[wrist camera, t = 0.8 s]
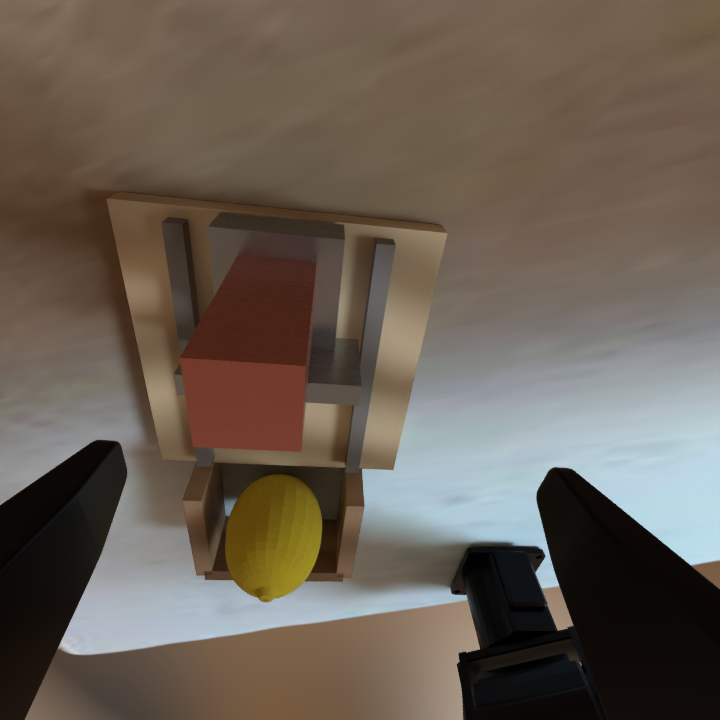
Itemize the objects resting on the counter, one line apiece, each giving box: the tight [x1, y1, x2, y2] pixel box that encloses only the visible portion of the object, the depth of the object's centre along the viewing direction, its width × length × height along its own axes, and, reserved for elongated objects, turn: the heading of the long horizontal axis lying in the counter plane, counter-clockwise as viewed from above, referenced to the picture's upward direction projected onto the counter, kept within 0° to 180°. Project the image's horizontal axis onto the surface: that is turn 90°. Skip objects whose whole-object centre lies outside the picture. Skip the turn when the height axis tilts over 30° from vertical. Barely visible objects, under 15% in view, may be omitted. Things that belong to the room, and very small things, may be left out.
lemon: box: [225, 474, 322, 602], centre depth 25 cm, size 6×6×8 cm
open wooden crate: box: [183, 462, 364, 581], centre depth 27 cm, size 8×10×4 cm
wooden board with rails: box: [106, 192, 448, 473], centre depth 22 cm, size 15×14×2 cm
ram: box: [173, 212, 362, 452], centre depth 15 cm, size 6×7×9 cm
